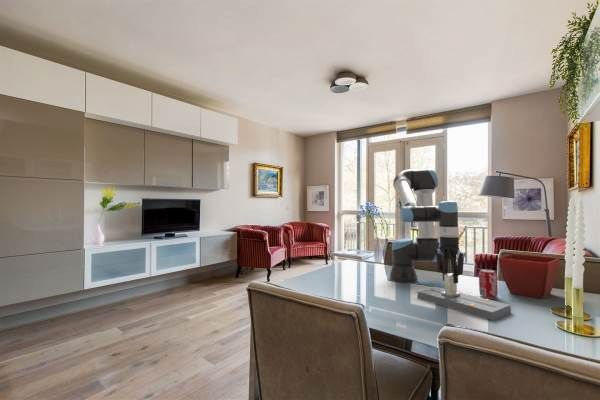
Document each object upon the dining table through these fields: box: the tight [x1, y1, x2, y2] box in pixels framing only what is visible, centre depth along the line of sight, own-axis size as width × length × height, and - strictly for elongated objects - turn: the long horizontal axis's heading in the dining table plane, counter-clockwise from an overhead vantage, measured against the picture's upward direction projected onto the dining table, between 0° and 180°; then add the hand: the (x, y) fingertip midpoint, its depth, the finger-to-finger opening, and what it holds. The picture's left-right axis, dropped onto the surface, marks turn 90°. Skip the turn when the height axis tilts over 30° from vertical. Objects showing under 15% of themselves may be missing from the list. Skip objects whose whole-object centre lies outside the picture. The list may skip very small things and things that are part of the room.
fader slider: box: [441, 272, 461, 298], centre depth 127 cm, size 6×5×9 cm
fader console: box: [417, 286, 512, 321], centre depth 123 cm, size 14×32×3 cm, turn 31°
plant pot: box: [497, 253, 560, 299], centre depth 137 cm, size 19×19×17 cm
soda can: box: [478, 268, 498, 299], centre depth 133 cm, size 7×7×12 cm
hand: (450, 289), depth 127 cm, fingers closed on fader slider, 2 cm apart
